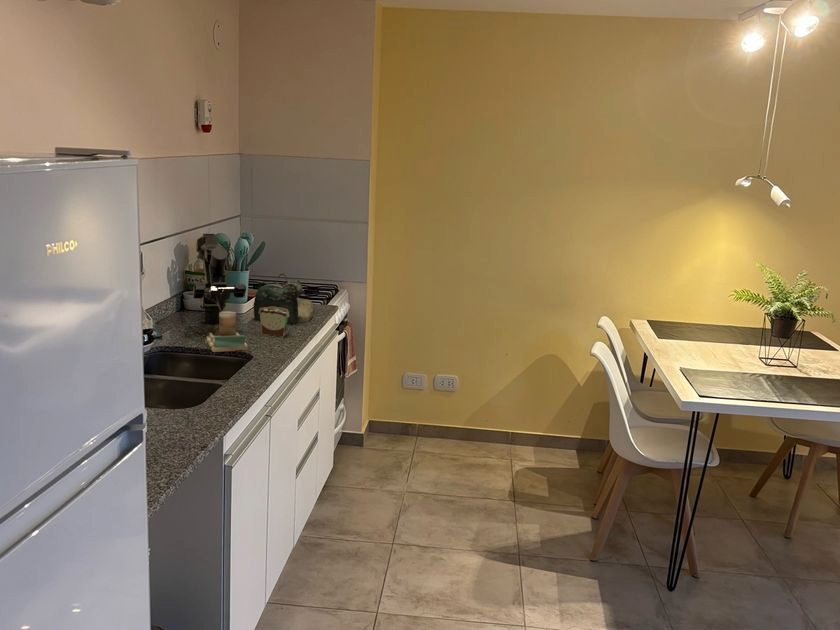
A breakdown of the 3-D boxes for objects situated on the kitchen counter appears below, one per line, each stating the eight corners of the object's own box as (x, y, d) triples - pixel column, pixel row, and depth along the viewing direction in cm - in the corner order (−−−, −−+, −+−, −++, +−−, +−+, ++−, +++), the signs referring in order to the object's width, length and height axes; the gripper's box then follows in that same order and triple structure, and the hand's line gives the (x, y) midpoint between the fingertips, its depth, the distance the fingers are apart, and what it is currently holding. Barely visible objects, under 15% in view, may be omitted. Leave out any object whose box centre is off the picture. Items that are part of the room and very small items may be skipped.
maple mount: (206, 340, 279) (206, 326, 278) (240, 338, 284) (240, 325, 283) (212, 351, 265) (212, 337, 264) (247, 350, 269) (247, 336, 268)
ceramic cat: (302, 323, 314) (303, 274, 309) (296, 326, 307) (297, 277, 303) (257, 317, 318) (258, 270, 314) (250, 321, 312) (251, 272, 308)
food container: (294, 334, 294) (295, 309, 292) (287, 338, 289) (287, 312, 286) (266, 330, 298) (266, 305, 296) (258, 333, 292) (258, 308, 290)
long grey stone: (288, 325, 314) (312, 327, 316) (289, 313, 313) (313, 315, 314) (291, 303, 348) (313, 305, 349) (292, 292, 346) (314, 294, 348)
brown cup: (217, 340, 273) (217, 311, 271) (234, 339, 276) (235, 311, 274) (220, 344, 268) (220, 315, 266) (237, 343, 270) (237, 314, 268)
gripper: (240, 286, 300) (244, 320, 292) (190, 287, 293) (193, 322, 285) (243, 270, 291) (248, 305, 283) (192, 270, 284) (196, 306, 276)
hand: (221, 310), depth 282 cm, fingers closed
